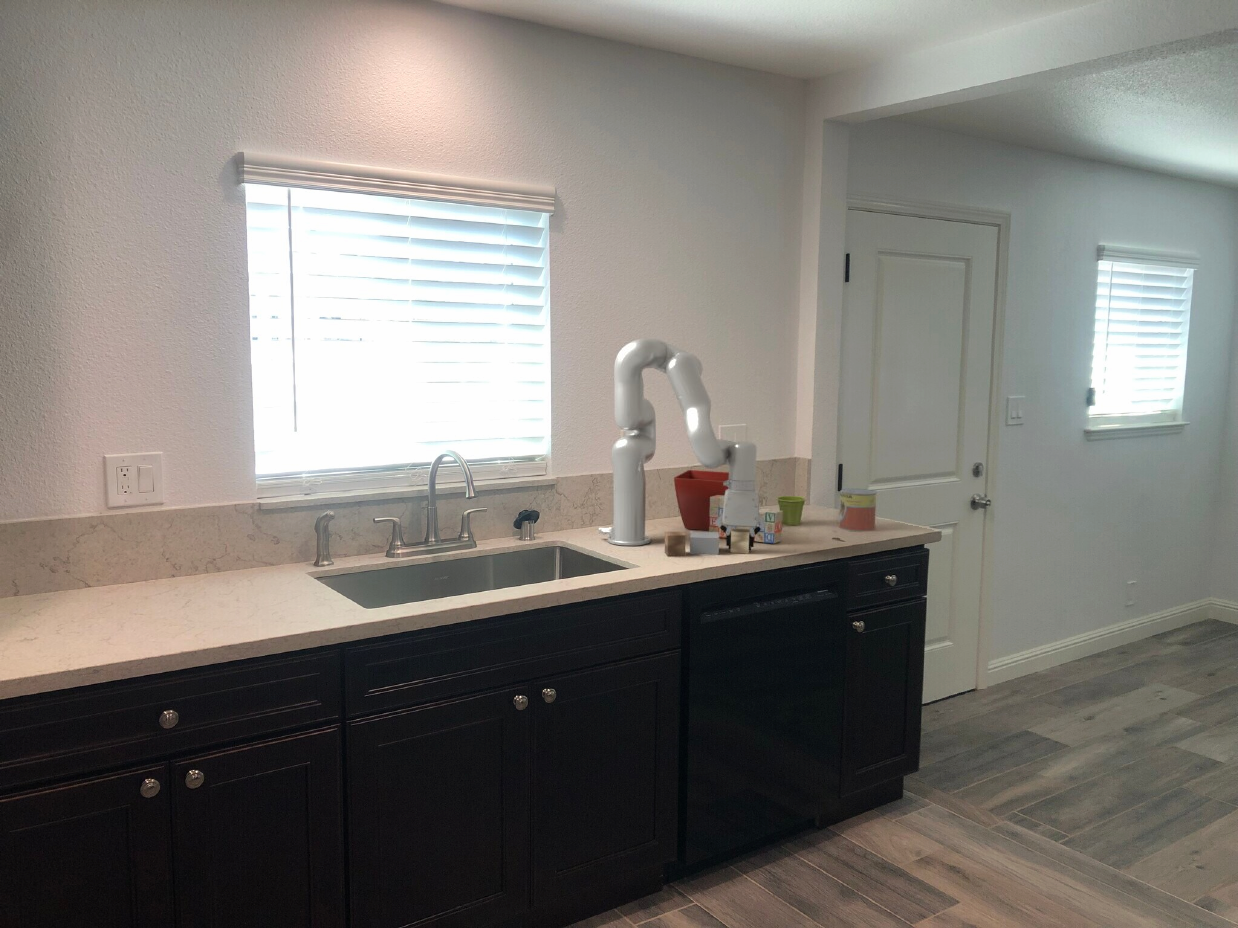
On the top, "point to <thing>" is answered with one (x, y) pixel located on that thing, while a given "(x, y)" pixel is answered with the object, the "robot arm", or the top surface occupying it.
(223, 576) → the top surface
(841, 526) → the canned food
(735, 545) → the maple cube
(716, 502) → the stack of blocks
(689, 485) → the plant pot
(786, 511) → the plant pot
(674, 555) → the walnut cube
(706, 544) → the stone block
